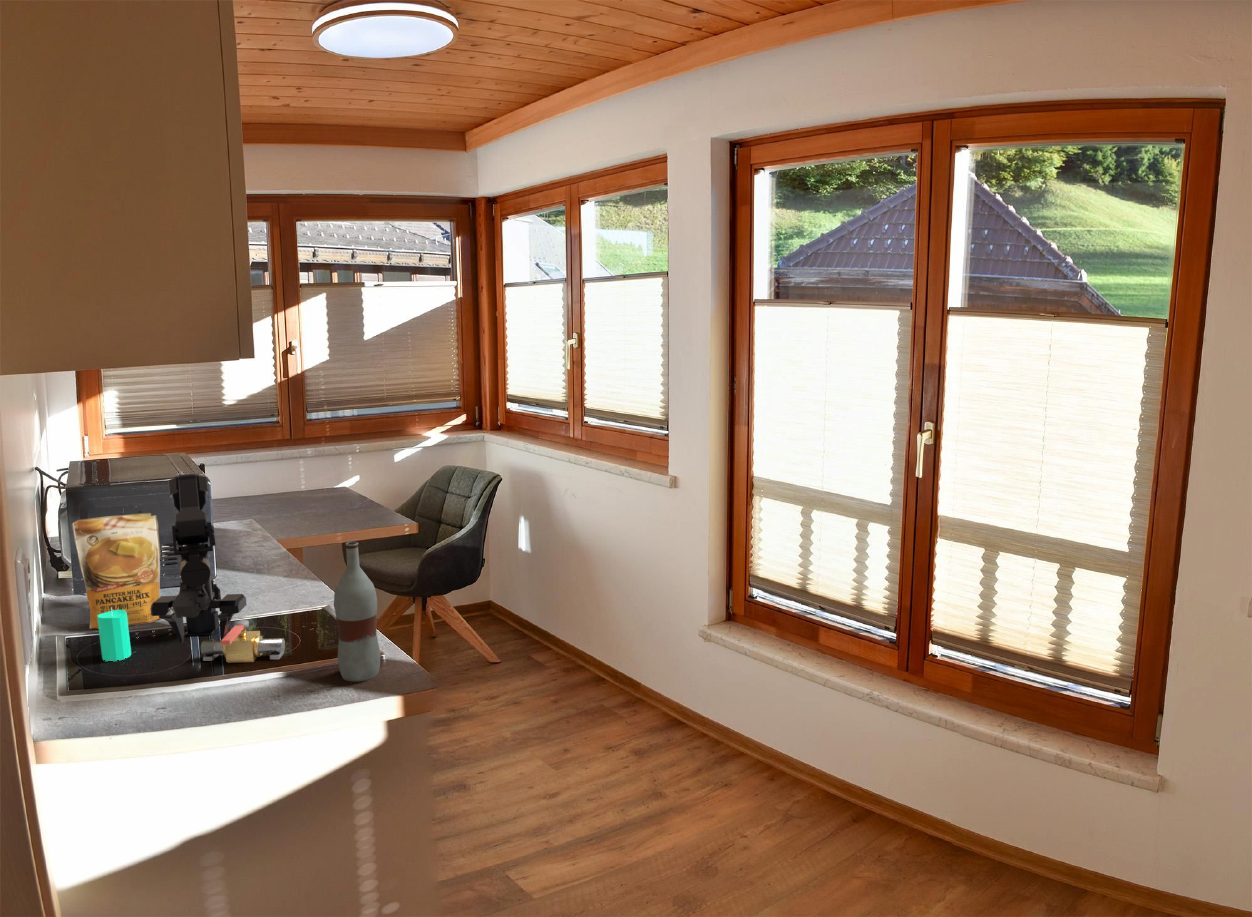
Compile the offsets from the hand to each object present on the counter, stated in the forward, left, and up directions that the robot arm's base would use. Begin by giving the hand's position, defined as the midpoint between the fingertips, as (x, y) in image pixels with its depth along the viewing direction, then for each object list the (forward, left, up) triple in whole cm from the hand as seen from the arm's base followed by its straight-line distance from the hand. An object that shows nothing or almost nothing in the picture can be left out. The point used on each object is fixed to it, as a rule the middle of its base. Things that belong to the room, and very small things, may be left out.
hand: (202, 641), depth 210 cm
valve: (+6, +8, -7) cm, 12 cm away
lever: (+6, +3, 0) cm, 7 cm away
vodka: (+35, -4, -7) cm, 36 cm away
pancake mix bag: (-32, +34, -7) cm, 47 cm away
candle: (-24, +11, -7) cm, 27 cm away
